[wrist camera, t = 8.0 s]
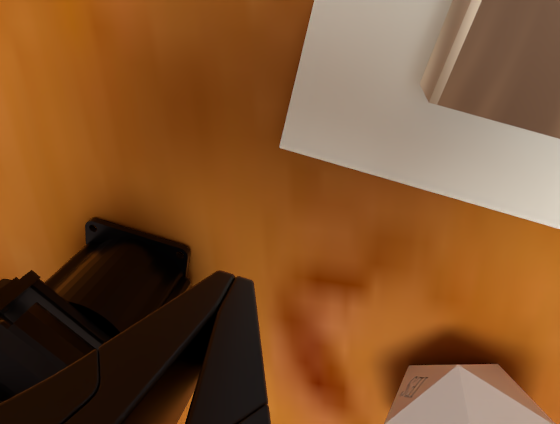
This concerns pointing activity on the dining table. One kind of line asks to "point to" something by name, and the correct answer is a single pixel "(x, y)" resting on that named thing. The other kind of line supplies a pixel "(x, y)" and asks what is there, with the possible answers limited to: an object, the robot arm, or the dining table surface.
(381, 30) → the mat
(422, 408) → the die
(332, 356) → the dining table surface
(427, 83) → the walnut block
